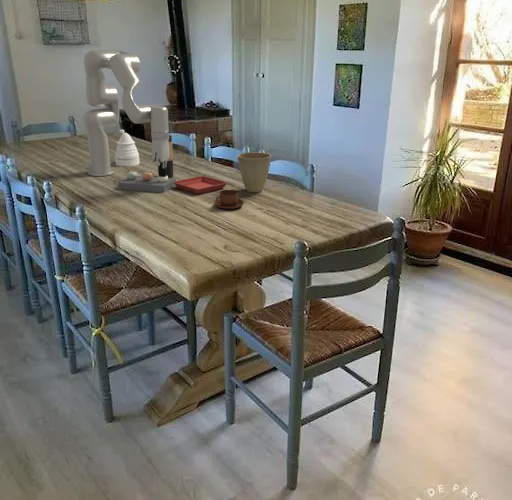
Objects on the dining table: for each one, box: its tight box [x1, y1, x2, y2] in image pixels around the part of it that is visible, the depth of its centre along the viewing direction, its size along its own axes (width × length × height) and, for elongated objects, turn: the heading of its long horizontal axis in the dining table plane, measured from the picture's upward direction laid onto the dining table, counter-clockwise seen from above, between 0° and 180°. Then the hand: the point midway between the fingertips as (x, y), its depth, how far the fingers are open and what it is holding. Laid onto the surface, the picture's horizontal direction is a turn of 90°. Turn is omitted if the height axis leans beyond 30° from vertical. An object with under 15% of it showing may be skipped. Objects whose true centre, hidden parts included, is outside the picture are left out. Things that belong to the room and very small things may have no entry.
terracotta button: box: [141, 172, 154, 180], centre depth 236 cm, size 5×5×2 cm
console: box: [118, 175, 177, 193], centre depth 238 cm, size 22×14×3 cm, turn 77°
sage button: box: [126, 171, 138, 179], centre depth 238 cm, size 5×5×2 cm
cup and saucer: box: [213, 189, 244, 210], centre depth 210 cm, size 12×12×6 cm
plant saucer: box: [173, 175, 228, 195], centre depth 237 cm, size 18×18×3 cm
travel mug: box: [157, 134, 174, 178], centre depth 253 cm, size 8×8×20 cm
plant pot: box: [237, 151, 272, 193], centre depth 231 cm, size 15×15×16 cm
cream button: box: [157, 175, 168, 182], centre depth 235 cm, size 5×5×2 cm
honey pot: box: [114, 129, 141, 167], centre depth 281 cm, size 13×13×18 cm
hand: (162, 176), depth 235 cm, fingers closed
